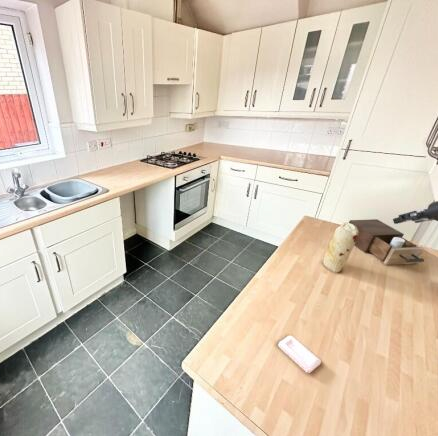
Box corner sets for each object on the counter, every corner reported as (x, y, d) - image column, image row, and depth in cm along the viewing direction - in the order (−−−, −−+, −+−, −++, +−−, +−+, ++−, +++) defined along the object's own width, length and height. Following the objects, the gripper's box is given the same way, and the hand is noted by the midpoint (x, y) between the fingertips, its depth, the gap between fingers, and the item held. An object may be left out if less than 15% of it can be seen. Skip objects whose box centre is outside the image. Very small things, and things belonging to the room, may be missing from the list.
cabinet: (393, 251, 109) (404, 234, 104) (364, 252, 109) (373, 235, 104) (368, 235, 121) (377, 219, 116) (342, 236, 120) (349, 220, 116)
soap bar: (307, 376, 63) (310, 370, 62) (276, 347, 70) (278, 342, 69) (319, 366, 65) (322, 360, 64) (288, 339, 73) (290, 333, 71)
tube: (392, 252, 105) (400, 237, 102) (398, 257, 102) (408, 242, 98) (382, 251, 106) (390, 236, 102) (388, 257, 103) (397, 241, 99)
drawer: (425, 270, 96) (435, 255, 93) (395, 271, 96) (404, 256, 93) (387, 246, 111) (395, 232, 107) (361, 247, 111) (368, 233, 107)
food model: (344, 276, 95) (365, 233, 86) (325, 272, 98) (343, 230, 88) (337, 261, 103) (356, 221, 94) (319, 258, 106) (335, 218, 96)
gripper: (469, 197, 83) (418, 211, 99) (428, 198, 83) (384, 212, 99) (478, 217, 81) (425, 229, 97) (437, 219, 81) (390, 230, 97)
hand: (404, 221), depth 98 cm, fingers open, 8 cm apart
